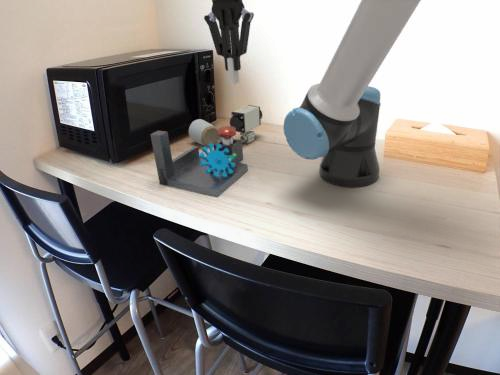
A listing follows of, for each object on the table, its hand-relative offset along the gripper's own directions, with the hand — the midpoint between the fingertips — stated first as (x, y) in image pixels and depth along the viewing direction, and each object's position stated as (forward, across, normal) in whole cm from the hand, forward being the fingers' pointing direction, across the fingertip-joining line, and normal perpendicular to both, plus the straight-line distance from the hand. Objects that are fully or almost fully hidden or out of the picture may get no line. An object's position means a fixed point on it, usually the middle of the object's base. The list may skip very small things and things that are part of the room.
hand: (234, 83), depth 98 cm
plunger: (+22, -4, -1) cm, 22 cm away
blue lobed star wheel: (+21, 0, -12) cm, 24 cm away
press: (+23, -5, -9) cm, 25 cm away
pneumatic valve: (+23, -6, +16) cm, 28 cm away
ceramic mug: (+23, -18, +11) cm, 31 cm away
